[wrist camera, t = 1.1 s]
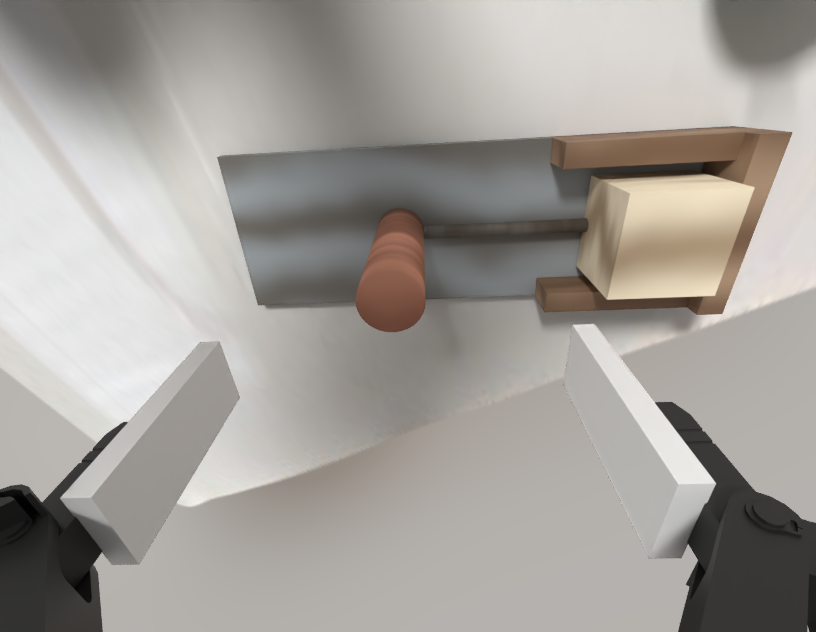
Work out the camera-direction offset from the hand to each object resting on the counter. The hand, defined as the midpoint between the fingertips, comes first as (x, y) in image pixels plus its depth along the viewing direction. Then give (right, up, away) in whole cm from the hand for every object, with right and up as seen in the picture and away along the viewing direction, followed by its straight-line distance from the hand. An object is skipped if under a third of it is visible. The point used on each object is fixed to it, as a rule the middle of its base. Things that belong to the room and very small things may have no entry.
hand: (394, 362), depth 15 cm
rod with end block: (+9, +9, +15) cm, 20 cm away
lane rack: (+5, +9, +16) cm, 19 cm away
